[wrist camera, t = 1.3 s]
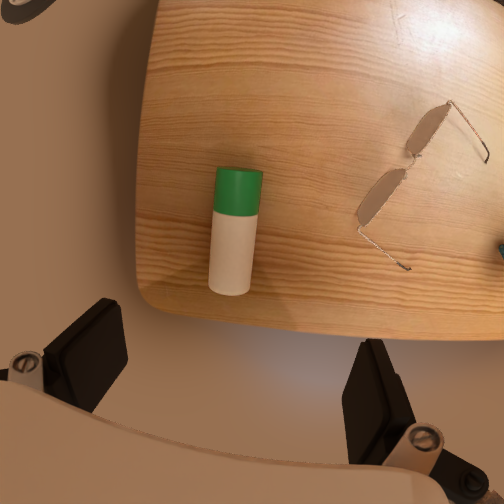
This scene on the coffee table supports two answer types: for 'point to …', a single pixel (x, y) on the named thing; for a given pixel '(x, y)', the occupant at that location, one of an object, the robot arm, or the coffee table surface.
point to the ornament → (501, 250)
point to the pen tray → (502, 0)
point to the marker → (234, 229)
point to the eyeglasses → (395, 177)
